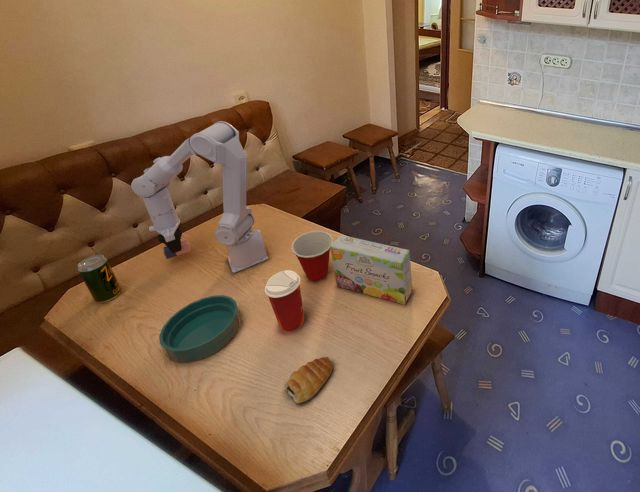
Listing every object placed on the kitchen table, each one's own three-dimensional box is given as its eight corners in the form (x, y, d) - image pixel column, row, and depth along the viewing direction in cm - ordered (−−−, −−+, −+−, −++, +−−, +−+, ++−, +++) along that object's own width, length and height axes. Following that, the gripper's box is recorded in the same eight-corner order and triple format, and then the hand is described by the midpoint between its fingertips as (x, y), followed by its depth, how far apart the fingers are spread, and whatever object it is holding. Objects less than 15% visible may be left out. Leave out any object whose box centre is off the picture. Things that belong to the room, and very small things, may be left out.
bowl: (234, 298, 96) (230, 286, 94) (247, 337, 86) (243, 324, 84) (163, 330, 87) (157, 317, 85) (168, 378, 76) (161, 364, 75)
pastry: (322, 355, 82) (319, 344, 80) (340, 372, 78) (338, 361, 77) (282, 390, 75) (279, 378, 73) (301, 410, 71) (298, 398, 70)
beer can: (92, 307, 92) (73, 271, 88) (97, 293, 97) (79, 258, 92) (120, 298, 95) (103, 263, 90) (123, 285, 99) (107, 251, 95)
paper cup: (315, 314, 92) (306, 273, 86) (293, 340, 85) (282, 297, 80) (291, 306, 94) (281, 265, 89) (267, 330, 87) (255, 287, 82)
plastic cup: (320, 293, 98) (313, 259, 93) (289, 282, 102) (282, 249, 97) (345, 267, 108) (340, 235, 103) (316, 257, 111) (310, 226, 106)
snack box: (335, 288, 100) (328, 245, 94) (346, 274, 105) (340, 232, 99) (404, 306, 95) (402, 262, 89) (413, 290, 100) (411, 248, 94)
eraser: (189, 245, 111) (187, 238, 110) (190, 250, 109) (188, 244, 108) (165, 254, 107) (162, 247, 106) (166, 259, 105) (163, 252, 104)
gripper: (142, 204, 104) (158, 241, 110) (144, 228, 94) (161, 267, 100) (173, 196, 109) (186, 232, 114) (177, 218, 99) (191, 256, 104)
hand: (176, 248), depth 107 cm, fingers closed on eraser, 3 cm apart
